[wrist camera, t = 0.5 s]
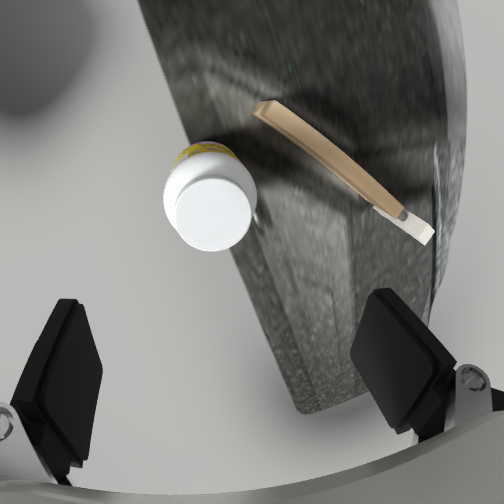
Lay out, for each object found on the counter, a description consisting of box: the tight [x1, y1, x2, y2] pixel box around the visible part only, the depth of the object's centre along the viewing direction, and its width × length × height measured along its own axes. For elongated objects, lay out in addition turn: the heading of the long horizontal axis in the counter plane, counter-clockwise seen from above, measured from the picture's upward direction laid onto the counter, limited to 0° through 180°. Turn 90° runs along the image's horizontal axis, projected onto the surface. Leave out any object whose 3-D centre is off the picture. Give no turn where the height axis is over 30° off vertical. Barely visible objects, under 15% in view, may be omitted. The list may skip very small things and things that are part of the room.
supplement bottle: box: [163, 141, 257, 251], centre depth 24 cm, size 7×7×13 cm
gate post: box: [373, 205, 435, 245], centre depth 30 cm, size 2×2×9 cm
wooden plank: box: [251, 100, 408, 221], centre depth 28 cm, size 2×18×6 cm, turn 56°
